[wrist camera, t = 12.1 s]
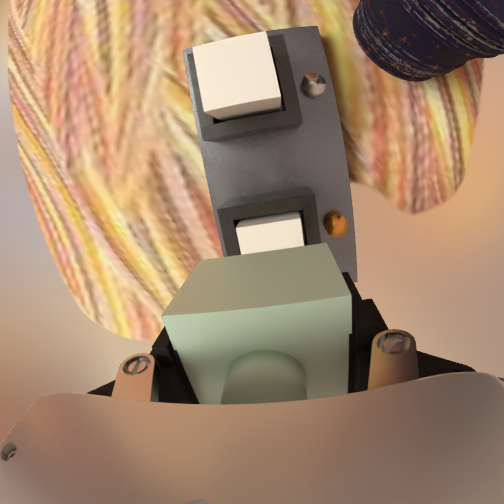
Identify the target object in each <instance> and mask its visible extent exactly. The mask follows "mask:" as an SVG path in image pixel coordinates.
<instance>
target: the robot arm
mask: <svg viewBox="0 0 504 504" xmlns="http://www.w3.org/2000/svg"><path fill="white" fill-rule="evenodd" d="M341 274H342V276H343V278H344V280H345V282H346V284H347V286H348V289H349V291H350V293H351V299H352V333H351V334H349V367H348V394H343V395H336V396H329V397H322V398H314V399H306V400H297V401H287V402H275V403H259V404H230V405H207V404H200V403H199V401H198V399H197V396H196V394H195V392H194V390H193V388H192V385H191V383H190V381H189V379H188V376H187V374H186V372H185V369H184V367H183V364H182V362H181V360H180V357H179V355H178V352H177V350H174V348H173V346H172V343H171V341H170V338H169V335H168V333H167V330H166V328H165V326H164V328H163V330H162V331H161V333H160V334H159V336H158V338H157V339H156V341H155V343H154V344H153V346H152V351H151V353H150V354H145V353H141V354H136V355H133V356H131V357H129V358H127V359H126V360H124V361H123V362H122V364H121V365H120V367H119V370H118V374H117V377H116V380H114V381H112V382H110V383H108V384H106V385H103V386H101V387H99V388H97V389H95V390H93V391H90V392H88V393H86V394H85V393H71V392H69V393H56V394H51V395H47V396H44V397H41V398H39V399H38V400H36V401H35V402H34V403H33V404H32V406H30V407H29V408H28V409H27V410H26V412H25V413H24V414H23V415H22V416H21V418H20V419H19V420H18V421H17V423H16V424H15V425H14V427H13V428H12V430H11V431H10V432H9V434H8V435H7V437H6V438H5V439H4V441H3V442H2V444H1V445H0V504H504V378H498V377H496V376H493V375H491V374H487V373H481V372H476V371H475V370H474V369H473V368H471V367H469V366H467V365H463V364H460V363H456V362H453V361H449V360H446V359H443V358H439V357H436V356H433V355H429V354H426V353H423V352H420V351H417V350H416V342H415V339H414V337H413V336H412V335H411V334H410V333H408V332H406V331H402V330H397V329H396V330H395V329H392V330H389V329H388V327H387V326H386V324H385V322H384V320H383V318H382V316H381V314H380V313H379V311H378V309H377V307H376V305H375V304H374V302H373V300H372V299H365V300H362V298H361V297H360V294H359V293H358V290H357V288H356V287H355V285H354V283H353V281H352V279H351V277H350V275H349V273H348V272H342V273H341Z"/></svg>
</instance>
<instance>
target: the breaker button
mask: <svg viewBox="0 0 504 504" xmlns="http://www.w3.org/2000/svg"><path fill="white" fill-rule="evenodd" d="M192 49H193V55H194V61H195V66H196V72H197V77H198V83H199V88H200V94H201V99H202V104H203V110H204V112H205V113H207V114H209V115H211V116H213V117H215V118H217V119H219V120H220V121H227V120H231V119H236V118H241V117H246V116H252V115H257V114H263V113H269V112H275V111H280V107H281V95H280V90H279V85H278V81H277V76H276V72H275V67H274V63H273V58H272V54H271V50H270V46H269V42H268V38H267V34H266V31H265V32H258V33H252V34H247V35H242V36H237V37H232V38H227V39H223V40H219V41H215V42H211V43H207V44H203V45H199V46H196V47H192Z"/></svg>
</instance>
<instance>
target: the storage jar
mask: <svg viewBox="0 0 504 504" xmlns="http://www.w3.org/2000/svg"><path fill="white" fill-rule="evenodd" d="M353 30H354V33H355V37H356V39H357V41H358V43H359V45H360V46H361V48H362V50H363V51H364V52H365V53H366V55H367V56H368V57H369V58H370V59H371V60H372V61H373V62H374V63H375V64H376V65H378V66H379V67H380V68H381V69H383V70H384V71H386V72H387V73H389V74H391V75H393V76H395V77H398V78H400V79H403V80H408V81H424V80H428V79H430V78H432V77H437V76H441V75H444V74H446V73H449V72H451V71H453V70H454V69H456V68H459V67H461V66H462V65H464V64H465V63H466V62H467V61H469V60H472V59H474V58H491V57H496V56H497V55H499V54H504V0H360V2H359V5H358V7H357V8H356V10H355V12H354V16H353Z"/></svg>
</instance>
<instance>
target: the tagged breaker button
mask: <svg viewBox="0 0 504 504" xmlns="http://www.w3.org/2000/svg"><path fill="white" fill-rule="evenodd" d="M236 232H237V236H238V241H239V246H240V251H241V255H243V254H250V253H257V252H264V251H271V250H278V249H286V248H293V247H300V246H304V241H303V233H302V226H301V219H300V216H299V212H298V210H295V211H288V212H281V213H275V214H268V215H262V216H256V217H249V218H243V219H241V220H240V222H239V223H238V225H237V227H236Z"/></svg>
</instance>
